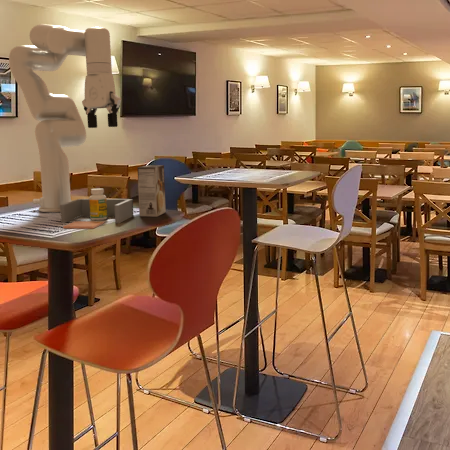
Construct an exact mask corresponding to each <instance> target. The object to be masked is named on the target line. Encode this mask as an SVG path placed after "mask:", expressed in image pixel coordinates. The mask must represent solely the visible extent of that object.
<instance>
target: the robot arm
mask: <svg viewBox="0 0 450 450" xmlns="http://www.w3.org/2000/svg"><path fill="white" fill-rule="evenodd" d="M110 35H111V34H110V30H109V29H107V28H106V27H101V26H100V27H99V26H95V27H94V26H92V27H88V28H86V29H85V30H81V29H80V30H79V29H72V28H71V29H70V28H68V27H66V26H62V25H56V24H55V25H54V24H48V23H47V24H46V23H40V24H36V25H34V26H33V27H32V28H31V29H30V31H29V40H30V42H31V44H32V45H30V44H29V45H28V44H24V45H16V46H14V47H13V48H12V49H11V50H10V51H9V57H8V62H9V69H10V72H11V74H12V77H13V78H14V80H15V82H16V84H18V86H19V88H20V89H21V91H22V94H23V97H24V99H25V102H26V104H27V106H28V109H29V111H30V113H31V116H32V117H33V118H34V119H35V120H36V121H39V122H37V124H36V125H35V129H34V133H35V139H36V142H37V143H36V144H37V148H38V155H39V165H40V180H41V193H42V195H41V196H42V197H39V198H33V199H32V205H39V207H38V211H39V212H44V213H61V212H60V205H62V204H65V203H68V202H71V201H72V198H71V181H70V165H69V158H68V155H67V154H66V153H65V152H64V150H63V148H67V147H79V146H81V145H83V144H84V143H85V141H86V138H87V131H86V130H87V129H86V127H85V123H84V121H83V120H82V117H81V114H80V112H79V110H78V108H77V105H76V103H75V101H74V99H73V98H71V97H70V96H69V95H66V94H60V93H59V94H55V93H54V94H53V93H51V92H50V91H49V89H48V86H47V84H46V82H45V81H44V79H42V77H41V76H40V75H38V74H37V73H36V72H34V71H38V72H55V71H58V70H59V69H60V68H61V66H62V65H63V64H64V62H65V60H66V59H67V57H68V56H79V57H85V66H86V75H85V79H84V99H83V100H82V101H81V103H82V107H83V109H84V111H85V115H87V127H88V129H93V128H94V129H97V128H98V118H97V114H96V113H97V111H98V109H107V112H108V113H107V127H108V128H111V127H112V128H117V127H119V126H118V125H119V124H118V114H119V109H120V107H121V102H122V98H121V96H119V95H117V92H116V86H115V80H114V76H113V70H112V69H113V68H112V66H113V65H112V51H111V49H112V47H111V36H110Z"/></svg>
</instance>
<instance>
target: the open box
mask: <svg viewBox="0 0 450 450" xmlns="http://www.w3.org/2000/svg"><path fill="white" fill-rule="evenodd" d="M106 199H107V217H114V222H115V224H121V223H122V222H124V221H126V220H128V219H131V218H132V217H133V216H134V199H133V198H106ZM59 213H60V223H61V224H66V223H68V222H70V221H73V220H75V219H78V218H81V217H90V203H89V198H77V199H75V200H71V202H68V203H65V204H62V205H60V212H59Z"/></svg>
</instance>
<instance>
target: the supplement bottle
mask: <svg viewBox="0 0 450 450" xmlns="http://www.w3.org/2000/svg"><path fill="white" fill-rule="evenodd" d="M90 193H91V195H90V196H89V198H88V199H89V203H90V216H89V217H90V219H91V220H92V221H103V220H107V219H108V216H107V199H108V198H107V196H106V195H105V189H104V188H90Z"/></svg>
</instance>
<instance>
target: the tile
mask: <svg viewBox="0 0 450 450" xmlns="http://www.w3.org/2000/svg"><path fill="white" fill-rule="evenodd" d="M103 224H105V222H104V221H103V220H92V221H90V220H89V221H85V220H83V221H80V220H79V221H76V220H74V221H73V222H70V223H68V224H66V225H63V229H96V228H98V227H99V226H100V227H101V225H103Z"/></svg>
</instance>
